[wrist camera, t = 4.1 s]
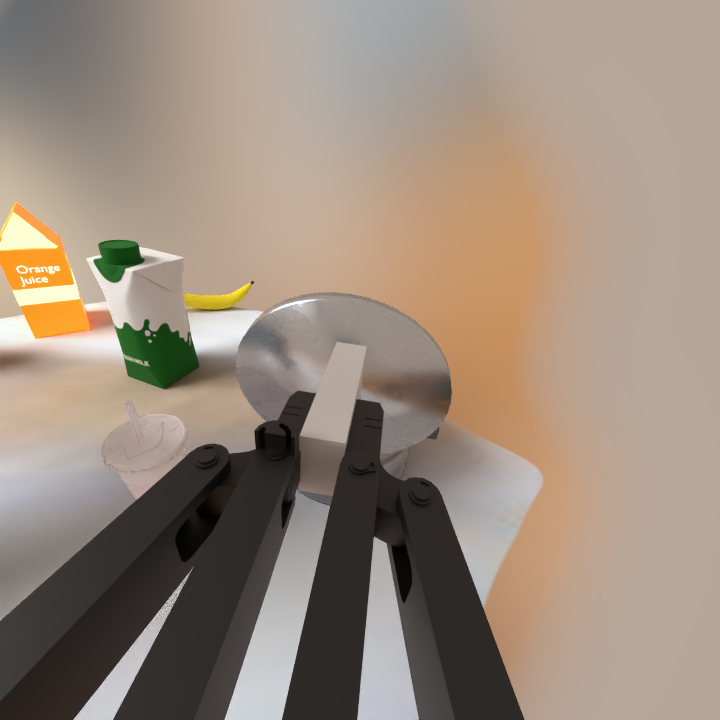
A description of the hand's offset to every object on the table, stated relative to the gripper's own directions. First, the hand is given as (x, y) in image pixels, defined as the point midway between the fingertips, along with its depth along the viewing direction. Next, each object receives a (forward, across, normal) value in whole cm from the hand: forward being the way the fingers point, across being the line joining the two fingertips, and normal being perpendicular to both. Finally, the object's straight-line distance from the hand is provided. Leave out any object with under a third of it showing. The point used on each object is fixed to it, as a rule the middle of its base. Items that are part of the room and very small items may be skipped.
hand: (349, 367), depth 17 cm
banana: (+49, -36, -23) cm, 65 cm away
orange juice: (+34, -57, -22) cm, 70 cm away
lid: (+6, -1, -6) cm, 9 cm away
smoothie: (+5, -18, -23) cm, 30 cm away
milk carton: (+26, -32, -23) cm, 47 cm away
